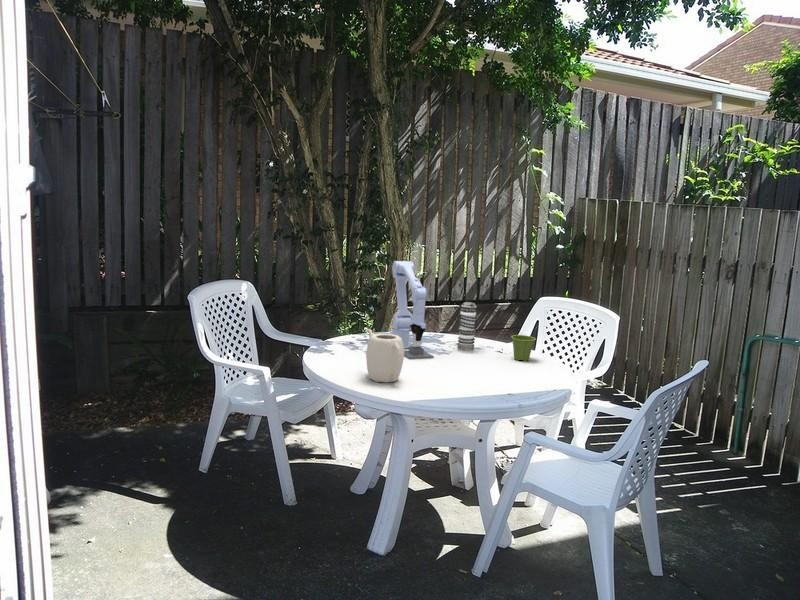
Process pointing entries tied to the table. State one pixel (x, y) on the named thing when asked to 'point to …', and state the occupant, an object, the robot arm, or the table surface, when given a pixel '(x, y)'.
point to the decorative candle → (467, 327)
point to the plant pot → (522, 346)
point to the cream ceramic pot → (384, 357)
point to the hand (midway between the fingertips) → (417, 340)
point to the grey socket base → (417, 353)
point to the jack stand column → (416, 343)
